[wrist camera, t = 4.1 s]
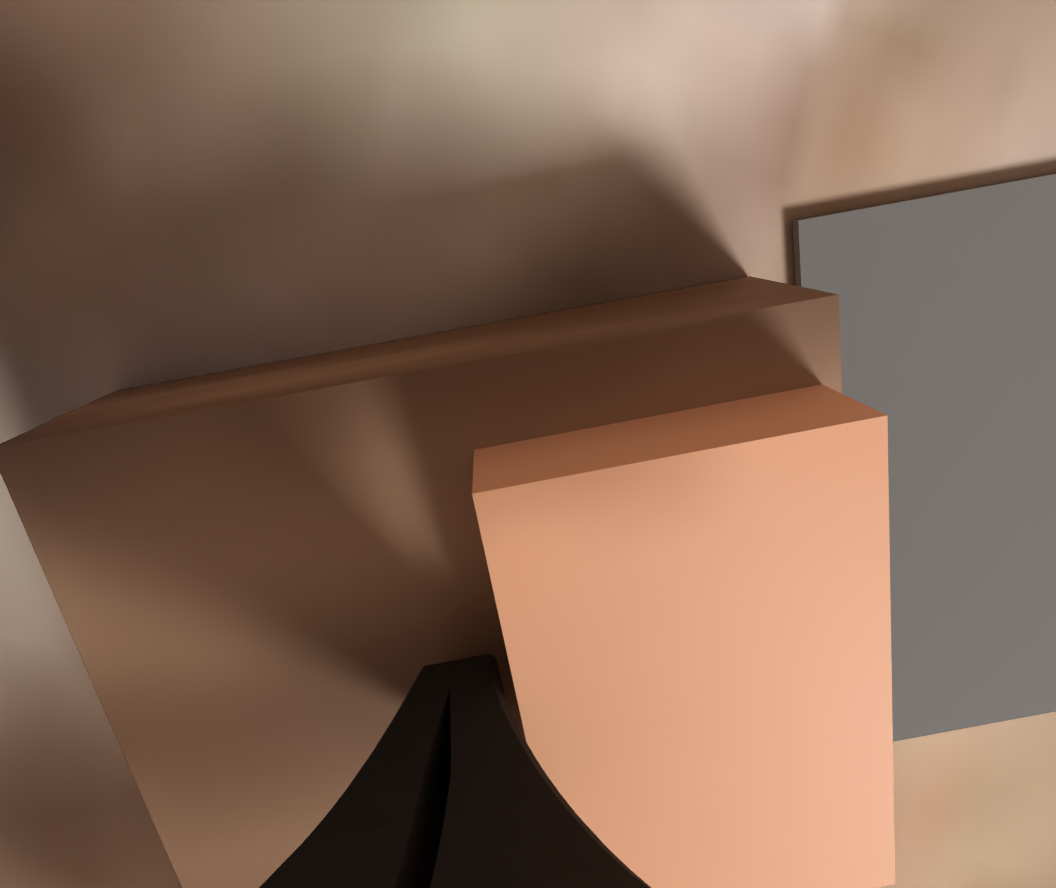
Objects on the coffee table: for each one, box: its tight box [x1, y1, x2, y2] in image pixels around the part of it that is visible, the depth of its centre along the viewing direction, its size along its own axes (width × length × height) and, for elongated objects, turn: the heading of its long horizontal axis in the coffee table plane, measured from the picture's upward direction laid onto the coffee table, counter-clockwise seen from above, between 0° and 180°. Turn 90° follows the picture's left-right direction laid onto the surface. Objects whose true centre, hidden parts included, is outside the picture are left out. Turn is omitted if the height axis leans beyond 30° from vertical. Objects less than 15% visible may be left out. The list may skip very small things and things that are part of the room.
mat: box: [792, 173, 1056, 741], centre depth 17 cm, size 14×12×1 cm
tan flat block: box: [0, 276, 842, 888], centre depth 15 cm, size 12×14×4 cm
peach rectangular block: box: [472, 384, 895, 888], centre depth 12 cm, size 9×6×2 cm, turn 10°
